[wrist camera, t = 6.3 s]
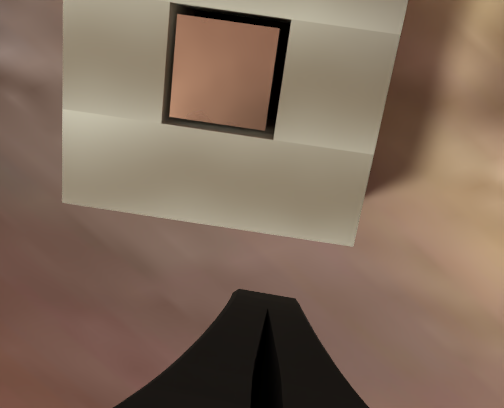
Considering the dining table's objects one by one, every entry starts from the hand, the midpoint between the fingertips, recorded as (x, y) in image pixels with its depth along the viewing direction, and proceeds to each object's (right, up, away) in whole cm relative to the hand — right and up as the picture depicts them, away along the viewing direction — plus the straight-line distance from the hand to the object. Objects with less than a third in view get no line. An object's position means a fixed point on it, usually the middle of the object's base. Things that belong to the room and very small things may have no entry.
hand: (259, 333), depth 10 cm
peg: (-1, +8, +8) cm, 11 cm away
